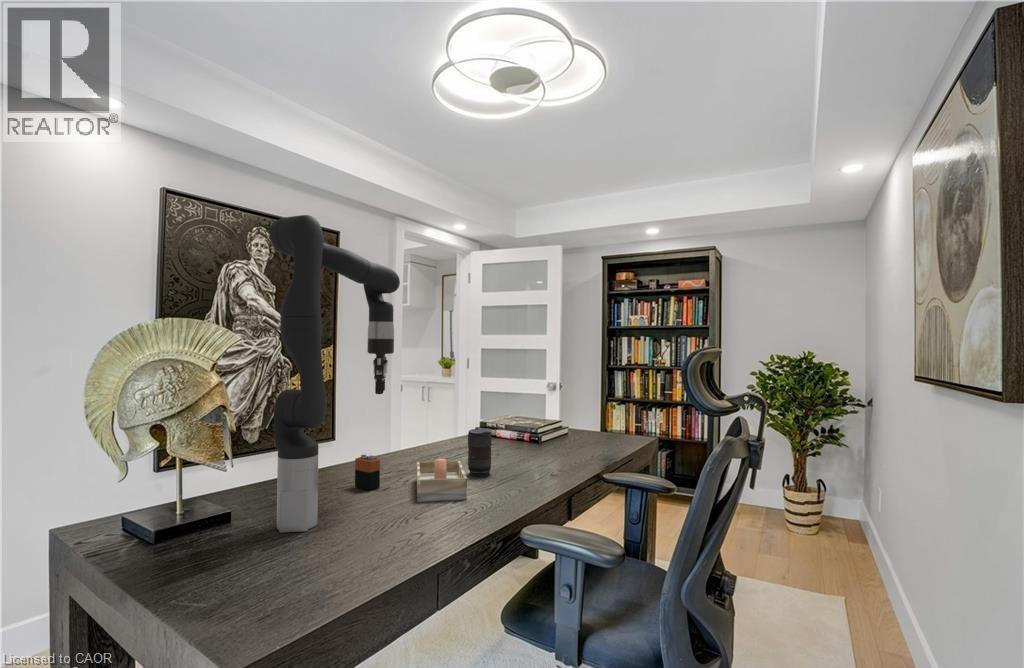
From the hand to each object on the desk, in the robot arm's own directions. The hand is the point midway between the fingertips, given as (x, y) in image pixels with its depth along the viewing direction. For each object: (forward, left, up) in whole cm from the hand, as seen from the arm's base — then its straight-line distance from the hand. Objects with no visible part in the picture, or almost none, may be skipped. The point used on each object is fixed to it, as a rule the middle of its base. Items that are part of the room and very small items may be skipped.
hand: (380, 392), depth 151 cm
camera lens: (+18, -32, -30) cm, 48 cm away
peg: (+3, -18, -30) cm, 35 cm away
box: (+3, -18, -30) cm, 35 cm away
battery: (+8, +4, -30) cm, 32 cm away
